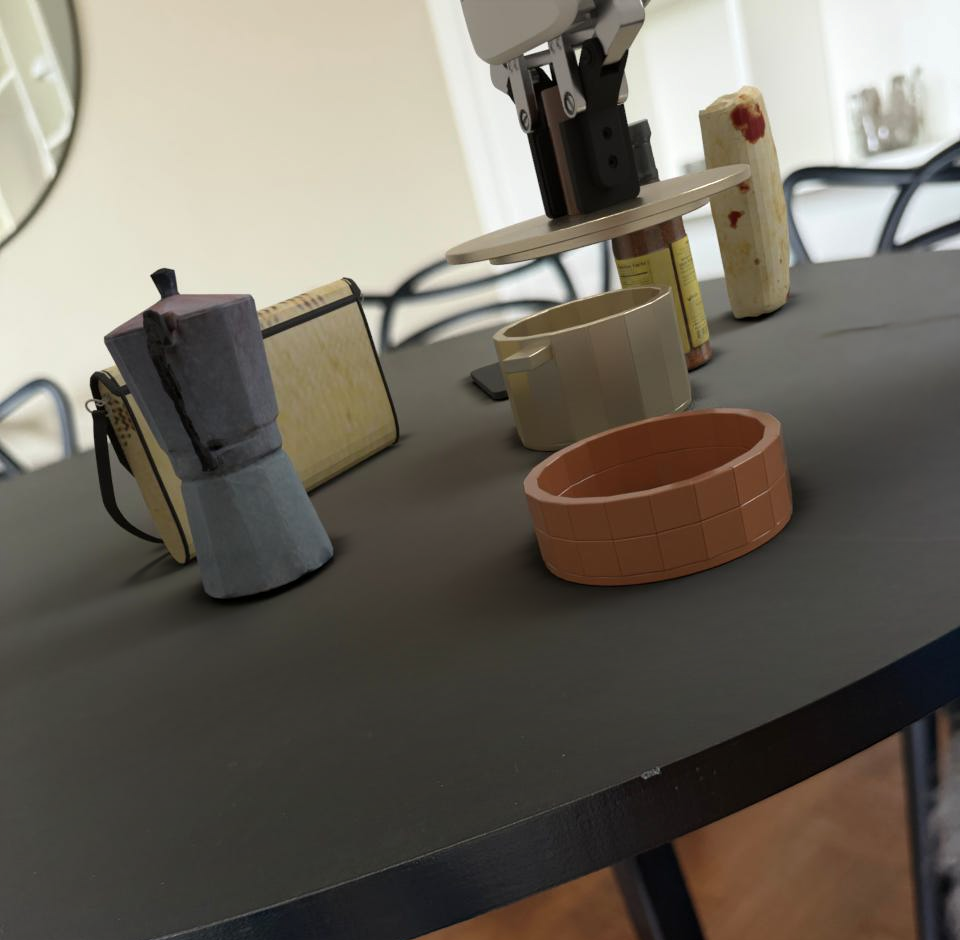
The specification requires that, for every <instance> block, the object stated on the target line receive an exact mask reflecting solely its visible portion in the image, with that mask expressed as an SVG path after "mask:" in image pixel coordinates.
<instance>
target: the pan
mask: <svg viewBox="0 0 960 940" xmlns="http://www.w3.org/2000/svg"><path fill="white" fill-rule="evenodd" d="M784 440H785V439H784V434H783V428H782V423H781V422H780V421H779V420H778V419H777V418H776V417H774V416H773V415H772V414H770V413H768V412H764V411H758V410H755V409H750V408H735V407H732V408H729V407H728V408H727V407H726V408H725V407H723V408H722V407H717V408H716V407H715V408H706V409H705V408H704V409H697V410H695V409H694V410H685V411H683V412H680V413H675V414H670V415H665V416H659V417H654V418H649V419H645V420H641V421H638V422H634V423H631V424H627V425H623V426H620V427H616V428H613V429H610V430H607V431H604V432H602V433H599V434H596V435H594V436H591V437H588V438H586V439H583V440H580V441H578V442H576V443H574V444H572V445H570V446H568V447H566V448H564V449H562V450H560V451H555V452H553V454H551V455H549V456H548V457H547V458H546V459H544V460H543V461H540V462H539V463H538V464H537V465H535V466H534V467H533V468H532V469H531V470H530V472H529V473H528V474H527V475H526V477H525V478H524V480H523V490H524V495H525V498H526V503H527V506H528V509H529V513H530V517H531V520H532V524H533V528H534V532H535V535H536V539H537V543H538V546H539V551H540V554H541V557H542V561H543V563H544V565H545V567H546V569H547V570H548V571H549V572H550V573H551V574H552V575H554V576H556V577H557V578H559V579H561V580H564V581H567V582H570V583H575V584H580V585H588V586H600V587H601V586H605V587H608V586H614V587H615V586H631V585H641V584H649V583H656V582H661V581H666V580H671V579H676V578H677V579H678V578H680V577H684V576H688V575H692V574H697V573H700V572H702V571H706V570H709V569H712V568H714V567H718V566H720V565H723V564H726V563H728V562H731V561H733V560H736V559H738V558H740V557H743V556H744V555H746V554H748V553H751V552H752V551H754V550H757V549H758V548H759V547H761V546H762V545H765V544H767V543H768V542H769V541H770V540H771V539H773V538H774V537H776V535H778V534H779V533H780V532H781V531H782V530H783V529H784V528H785V527H786V525H787V524H788V523H789V521H790V520H791V518H792V514H793V510H794V509H793V508H794V504H793V499H792V498H793V489H792V485H791V478H790V472H789V466H788V459H787V453H786V447H785V446H786V445H785V441H784Z"/></svg>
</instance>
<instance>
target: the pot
mask: <svg viewBox="0 0 960 940" xmlns="http://www.w3.org/2000/svg"><path fill="white" fill-rule="evenodd" d="M492 341H493V345H494V348H495V352H496V356H497V360H498V362H499V364H500V367H501V371H502V375H503V379H504V382H505V386H506V390H507V393H508V397H507V398H508V400H509V404H510V408H511V412H512V415H513V419H514V423H515V427H516V430H517V434H518V437H519V438H520V440H521V443H522V445H523V446H524V447H525V448H527V449H530V450H534V451H540V452H558V451H560V450H562V449H564V448H566V447H568V446H570V445H572V444H574V443H576V442H578V441H580V440H583V439H586V438H588V437H591V436H594V435H596V434H599V433H602V432H604V431H607V430H610V429H613V428H616V427H620V426H623V425H627V424H631V423H634V422H638V421H641V420H645V419H649V418H654V417H659V416H665V415H670V414H675V413H680V412H685V411H686V410H687V409H688V407H689V406H690V405H691V404H692V401H693V398H692V397H693V396H692V387H691V381H690V376H689V371H688V370H687V365H686V360H685V354H684V349H683V344H682V339H681V334H680V329H679V323H678V318H677V313H676V308H675V303H674V298H673V292H672V287H671V286H668V285H662V284H652V285H641V286H634V287H628V288H623V289H622V288H619V289H613V290H609V291H605V292H601V293H596V294H593V295H589V296H585V297H581V298H577V299H574V300H571V301H568V302H565V303H562V304H561V303H560V304H558V305H555V306H552V307H548V308H546V309H543V310H540V311H538V312H535V313H532V314H530V315H527V316H525V317H521V318H519V319H517V320H515V321H514V322H512V323H509V324H508V325H506V326H503V327H501V328H500V329H499V330H498V331H497V332H496V333H495V334H494V335H492Z"/></svg>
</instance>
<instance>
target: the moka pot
mask: <svg viewBox="0 0 960 940" xmlns="http://www.w3.org/2000/svg"><path fill="white" fill-rule="evenodd" d="M149 277H150V278H151V280H152V282H153V284H154V286H155V287H156V289H157V291H158V294H159V295H160V299H159V300H157V301H156V302H155V303H153V304H152V305H150V306H149V307H147V308H146V309H144V310H142V311H141V312H140V313H138V314H136V315H135V316H133V317H131V318H129V319H128V320H127V321H125V322H123V323H122V324H120V325H118V326H116V328H114V329H113V330H111V331H109V332H108V333H107V334H105V335H104V336H103V343H104V345H105V347H106V349H107V351H108V353H109V355H110V356H111V359H112V360H113V362H114V363H115V365H116V366H117V368H118V369H119V371H120V373H121V375H122V377H123V379H124V381H125V383H126V385H127V387H128V388H129V390H130V392H131V394H132V396H133V398H134V400H135V401H136V403H137V405H138V407H139V409H140V411H141V413H142V415H143V417H144V418H145V420H146V422H147V424H148V426H149V428H150V430H151V432H152V434H153V435H154V437H155V439H156V441H157V443H158V445H159V446H160V448H161V449H162V450H163V451H164V452H165V453H166V454H167V455H168V457H169V460H170V462H171V465H172V467H173V470H174V472H175V475H176V476H177V477H178V478H179V479H181V481H182V482H181V493H182V497H183V500H184V504H185V509H186V514H187V518H188V522H189V526H190V530H191V534H192V538H193V543H194V547H195V552H196V556H195V557H196V560H197V564H198V568H199V572H200V576H201V581H202V585H203V589H204V593H206V594H207V595H208V596H209V597H211V598H214V599H221V600H225V599H235V598H240V597H244V596H251V595H257V594H260V593H265V592H266V593H267V592H270V591H271V590H273V589H274V590H275V589H277V588H279V587H281V586H284V585H288V584H289V583H292V582H294V581H297V580H298V579H300V578H302V577H304V576H306V575H308V574H310V573H312V572H314V571H316V570H317V569H319V568H321V567H322V566H323V565H324V564H326V563H328V562H329V561H330V560H331V559H332V557H333V556H334V547H333V545H332V542H331V540H330V537H329V535H328V533H327V531H326V529H325V527H324V524H323V523H322V522H321V520H320V517H319V515H318V513H317V510H316V508H315V506H314V505H313V503H312V501H311V499H310V497H309V495H308V492H307V493H306V491H305V489H304V486H303V484H302V482H301V480H300V478H299V476H298V474H297V472H296V470H295V468H294V466H293V464H292V462H291V460H290V458H289V456H288V454H287V453H286V451H284V450H282V449H281V447H282V442H283V440H282V437H281V434H280V431H279V428H278V424H277V421H276V418H277V416H278V415H279V410H278V405H277V400H276V396H275V391H274V387H273V382H272V378H271V374H270V369H269V365H268V361H267V356H266V351H265V346H264V342H263V337H262V333H261V328H260V323H259V319H258V314H257V311H258V309H257V306H256V301H255V298H254V297H253V296H252V294H250V293H180V292H179V289H178V282H177V275H176V270H175V269H172V268H168V267H161V268H159V269H156V270H155V271H154V272H153V273H150V275H149Z"/></svg>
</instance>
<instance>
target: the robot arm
mask: <svg viewBox="0 0 960 940" xmlns="http://www.w3.org/2000/svg"><path fill="white" fill-rule="evenodd" d="M651 1H652V0H459V2H460V5H461V10H462V14H463V18H464V21H465V25H466V27H467V29H466V30H467V32H468V35H469V38H470V41H471V44H472V47H473V50H474V53H475V54H476V56H477V57H478V58H479V59H480V60H482V61H483V62H485V63H486V64H488V65H489V74H490V75H489V77H490V80H491V83H492V85H493V87H494V88H495V89H497V90H499V91H500V92H502V93H503V94H505V95H506V96H508V97H509V98H510V100H511V101H512V103H513V104H514V105H515V110H516V114H517V119H518V123H519V126H520V129H521V131H522V132H523V133H524V134H526V136H527V137H526V138H527V141H528V145H529V150H530V153H531V158H532V163H533V167H534V171H535V176H536V180H537V184H538V188H539V193H540V197H541V201H542V202H541V203H542V206H543V210H544V215H545V214H546V216H547V217H548V218H549V219H556V218H560V217H563V216H566V215H568V213H567V209H566V204H565V200H564V195H563V191H562V186H561V182H560V177H559V173H558V169H557V164H556V160H555V155H554V151H553V146H552V142H551V137H550V133H549V128H548V124H547V119H546V115H545V110H544V106H543V101H542V97H541V91H543V90H545V89H548V88H551V87H553V86H556V85H558V87H559V92H560V96H561V100H562V104H563V108H564V111H565V113H566V115H567V116H568V117H569V118H573V119H569V120H566V121H563V122H560V123H558V124H559V129H560V133H561V138H562V142H563V147H564V151H565V156H566V161H567V165H568V170H569V174H570V179H571V183H572V188H573V192H574V197H575V201H576V206H577V209H578V211H579V212H580V213H583V214H585V213H591V212H594V211H597V210H600V209H603V208H606V207H609V206H612V205H615V204H618V203H621V202H624V201H627V200H630V199H633V198H636V197H637V196H638V195H639V193H640V184H639V179H638V173H637V168H636V163H635V158H634V153H633V148H632V143H631V137H630V132H629V127H628V124H629V122H628V117H627V112H626V107H625V103H626V102H627V99H628V97H629V84H628V80H627V74H626V66H627V63H628V58H629V52H630V49H631V47H632V45H633V42H634V41H635V40H636V38H637V36H638V34H639V32H640V31H641V30H642V28H643V26H644V23H645V20H646V9H645V8H646V7H647V6H648V5H649V4H650V3H651ZM545 43H547V48H548V49H544V50H540V51H537V52H533V53H530V54H529V53H528V54H526V53H527V52H530V51H532V50H534V49H536V48H537V47H539V46H542V45H543V44H545ZM579 50H580V54H579V59H577V55H576V51H579ZM545 66H548V67H549V72H550V77H551V78H550V77H549V75H548V74H547V72H546V71H545V70H544V69H543V68H542V67H545Z"/></svg>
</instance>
